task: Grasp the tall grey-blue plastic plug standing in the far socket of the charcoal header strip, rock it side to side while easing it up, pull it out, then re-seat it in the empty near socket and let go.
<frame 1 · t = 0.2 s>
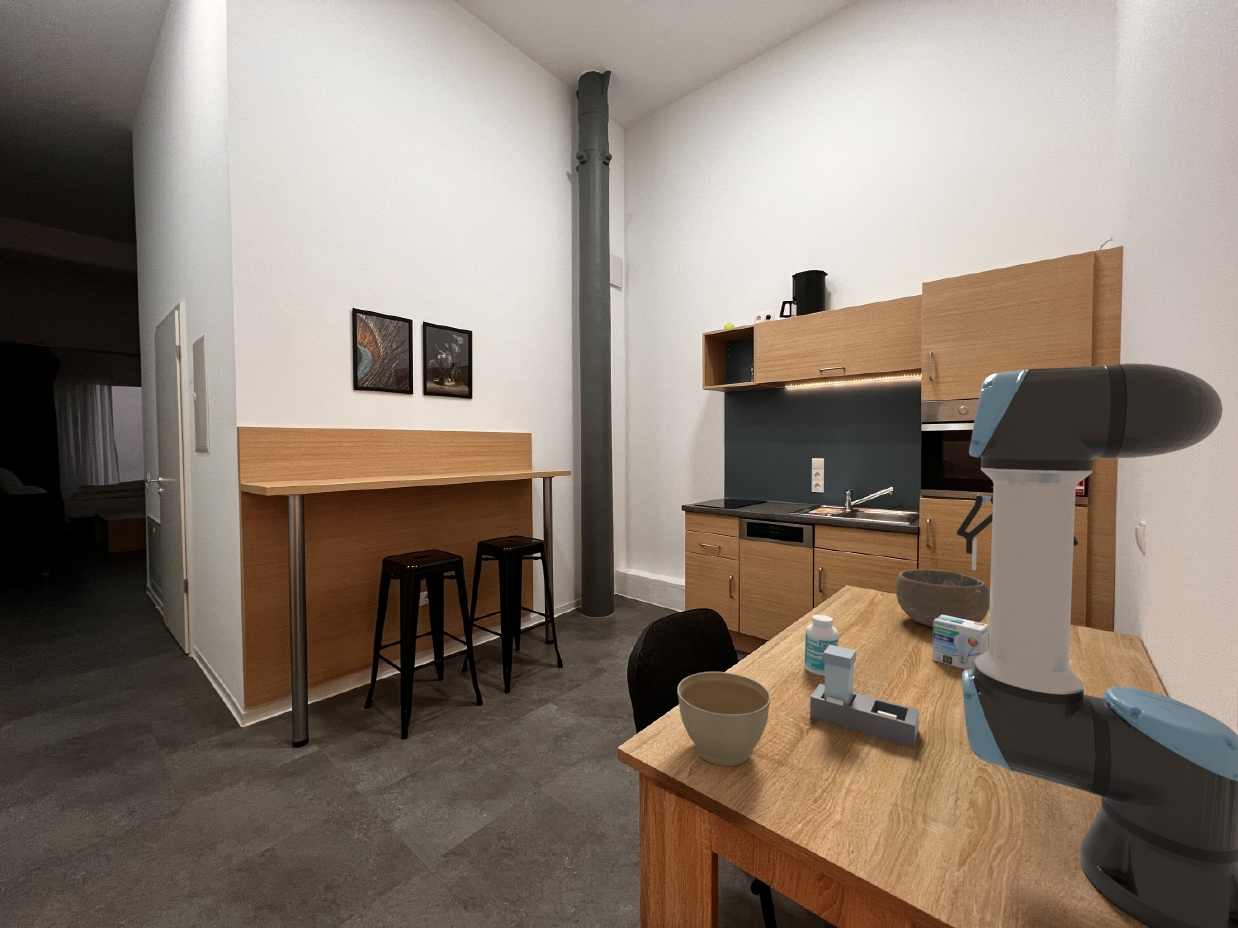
hand: (1012, 573, 110), 28 cm above the table, fingers open, 13 cm apart
pill bottle: (820, 673, 124), on the table
header: (862, 728, 100), on the table
light bulb box: (959, 664, 131), on the table
planter bowl: (722, 751, 92), on the table
plug: (838, 716, 102), point 1 cm above the table, touching header
bowl: (940, 625, 159), on the table
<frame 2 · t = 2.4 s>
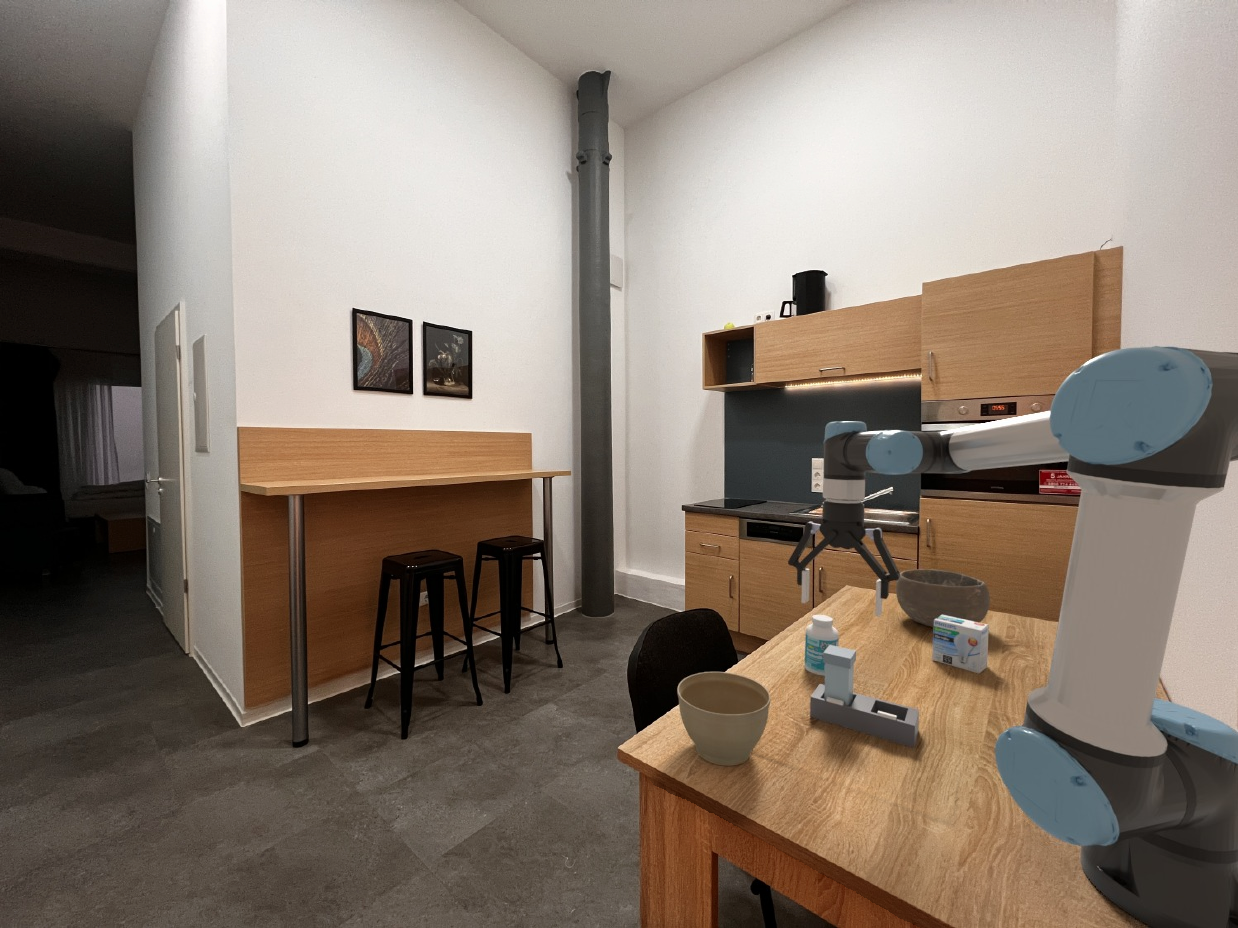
hand: (840, 607, 102), 23 cm above the table, fingers open, 13 cm apart
nothing on the table moved.
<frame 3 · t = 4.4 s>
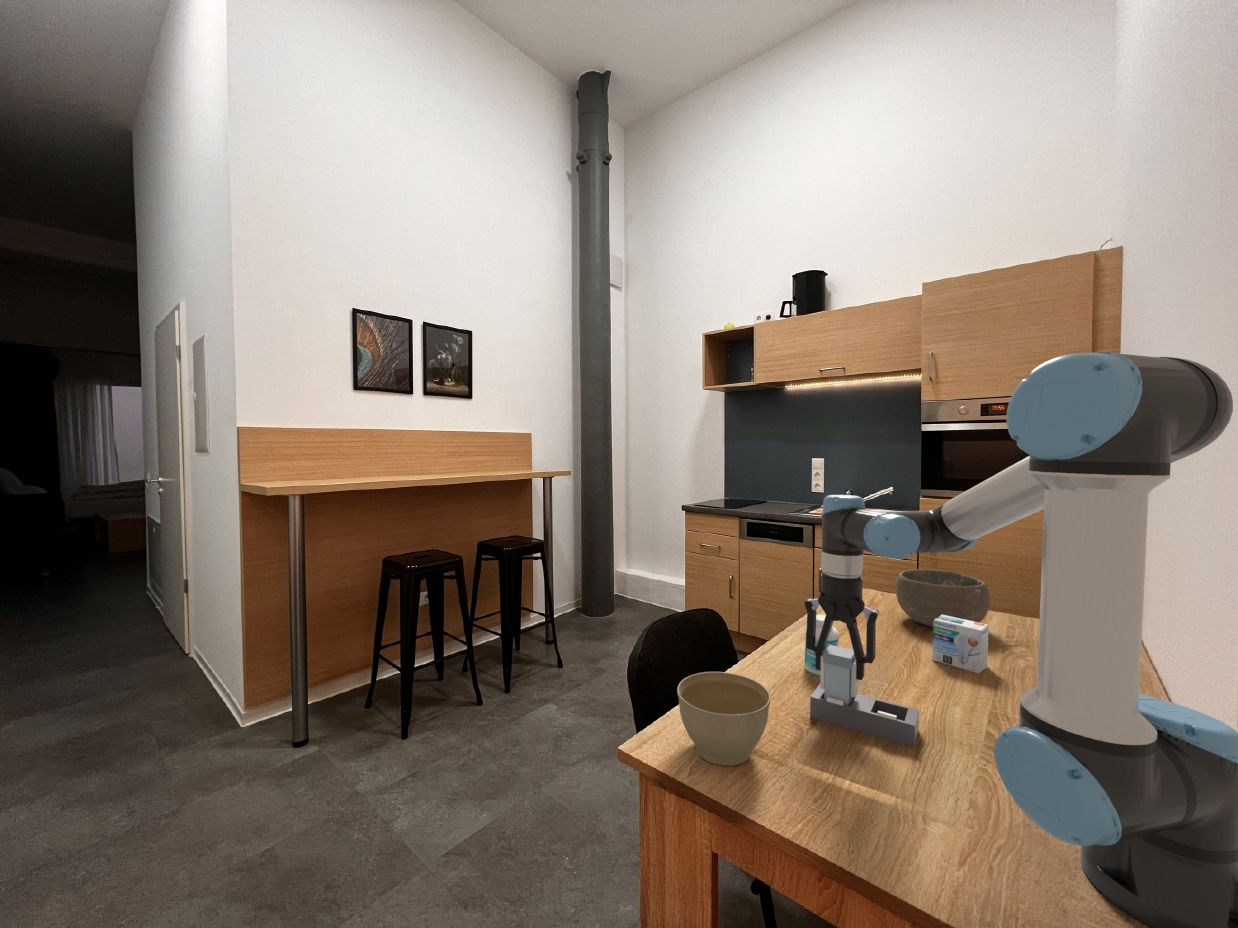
hand: (838, 690, 102), 6 cm above the table, fingers closed on plug, 5 cm apart
plug: (838, 716, 102), point 1 cm above the table, touching gripper, header
everything else where it was.
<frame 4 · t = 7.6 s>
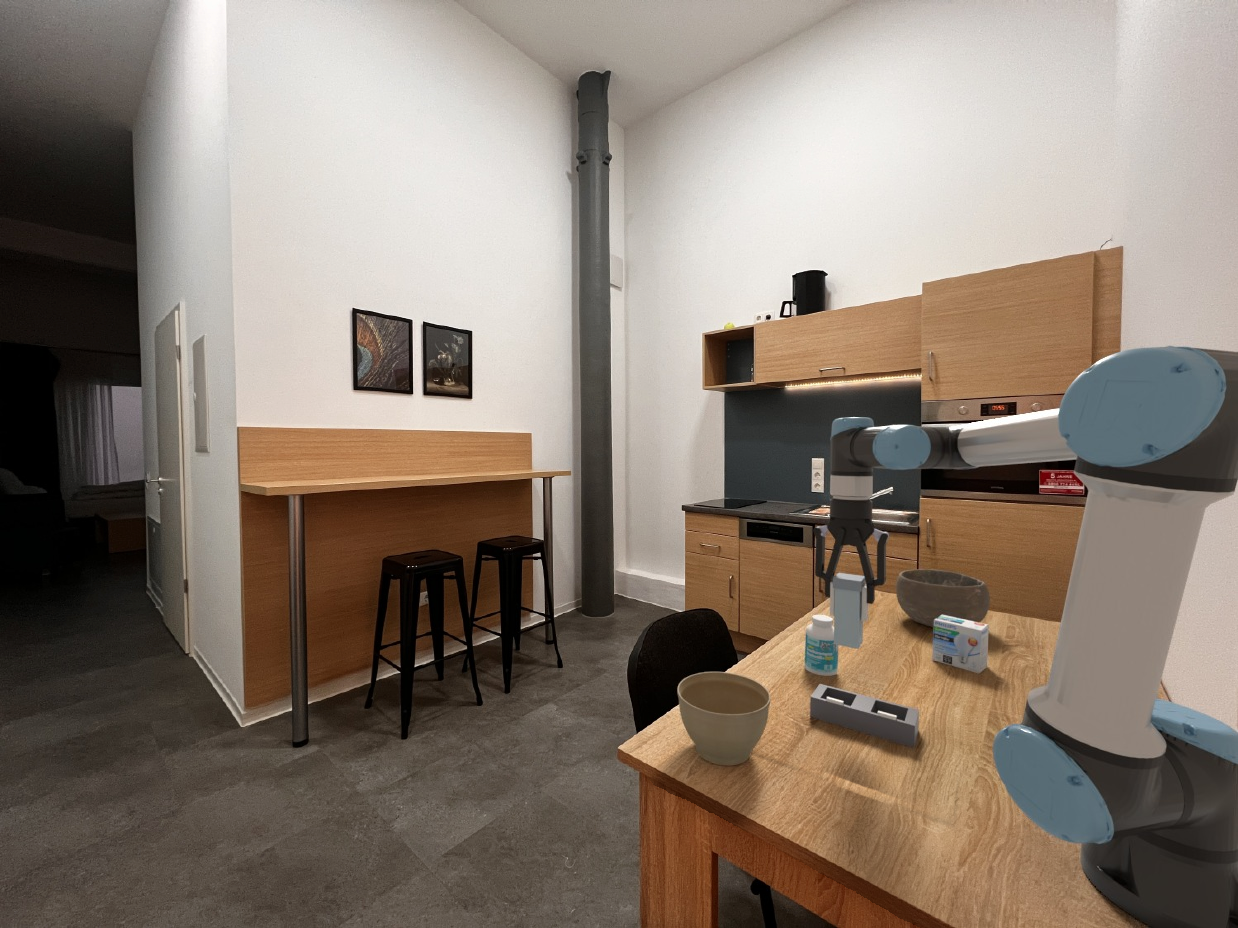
hand: (848, 616, 100), 21 cm above the table, fingers closed on plug, 5 cm apart
plug: (848, 643, 101), point 16 cm above the table, touching gripper
everything else where it was.
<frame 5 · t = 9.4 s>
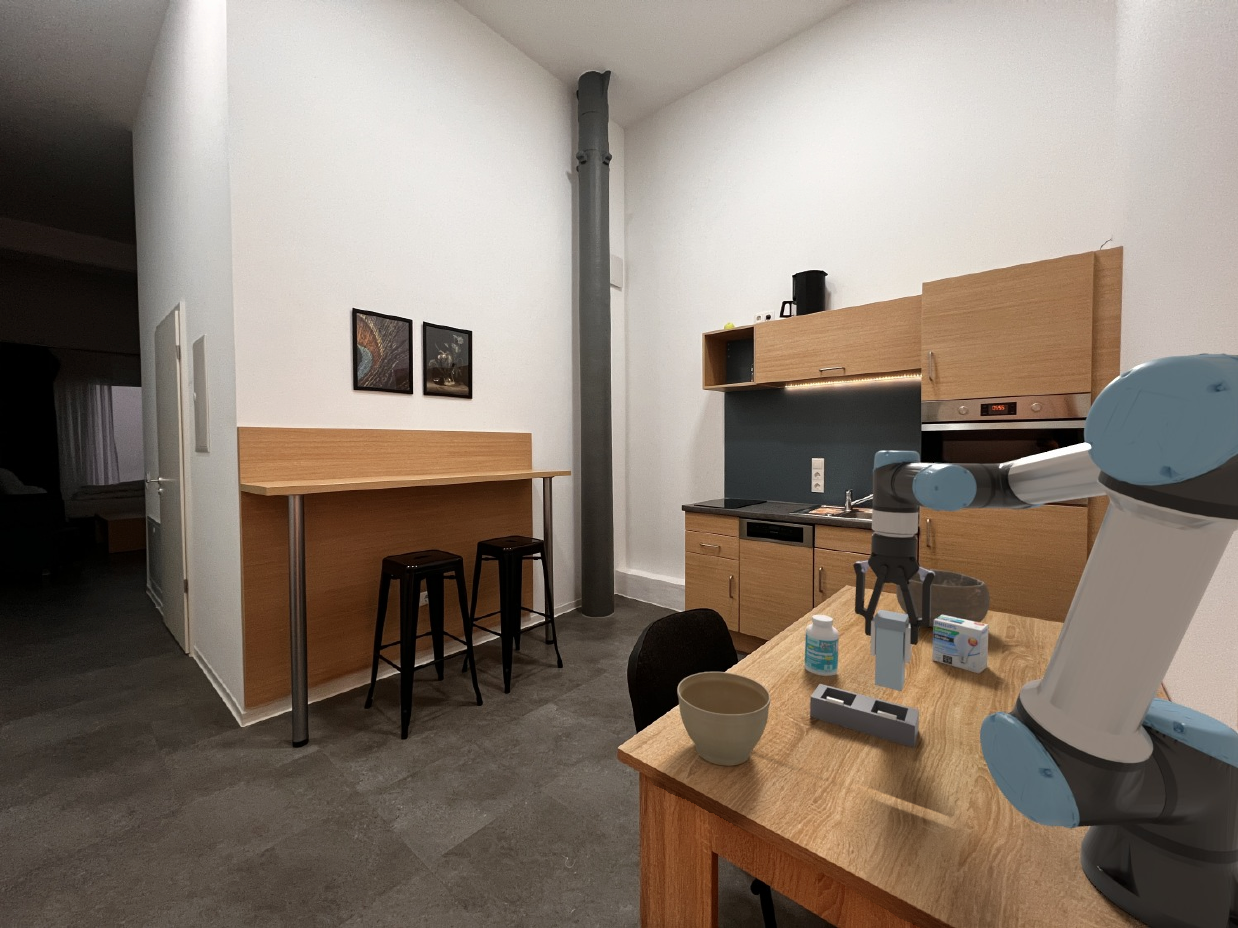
hand: (890, 656, 97), 15 cm above the table, fingers closed on plug, 5 cm apart
plug: (889, 683, 97), point 10 cm above the table, touching gripper
everything else where it was.
when the fingers open (8 cm above the table, at t = 11.0 s): plug drops 1 cm, resting on header.
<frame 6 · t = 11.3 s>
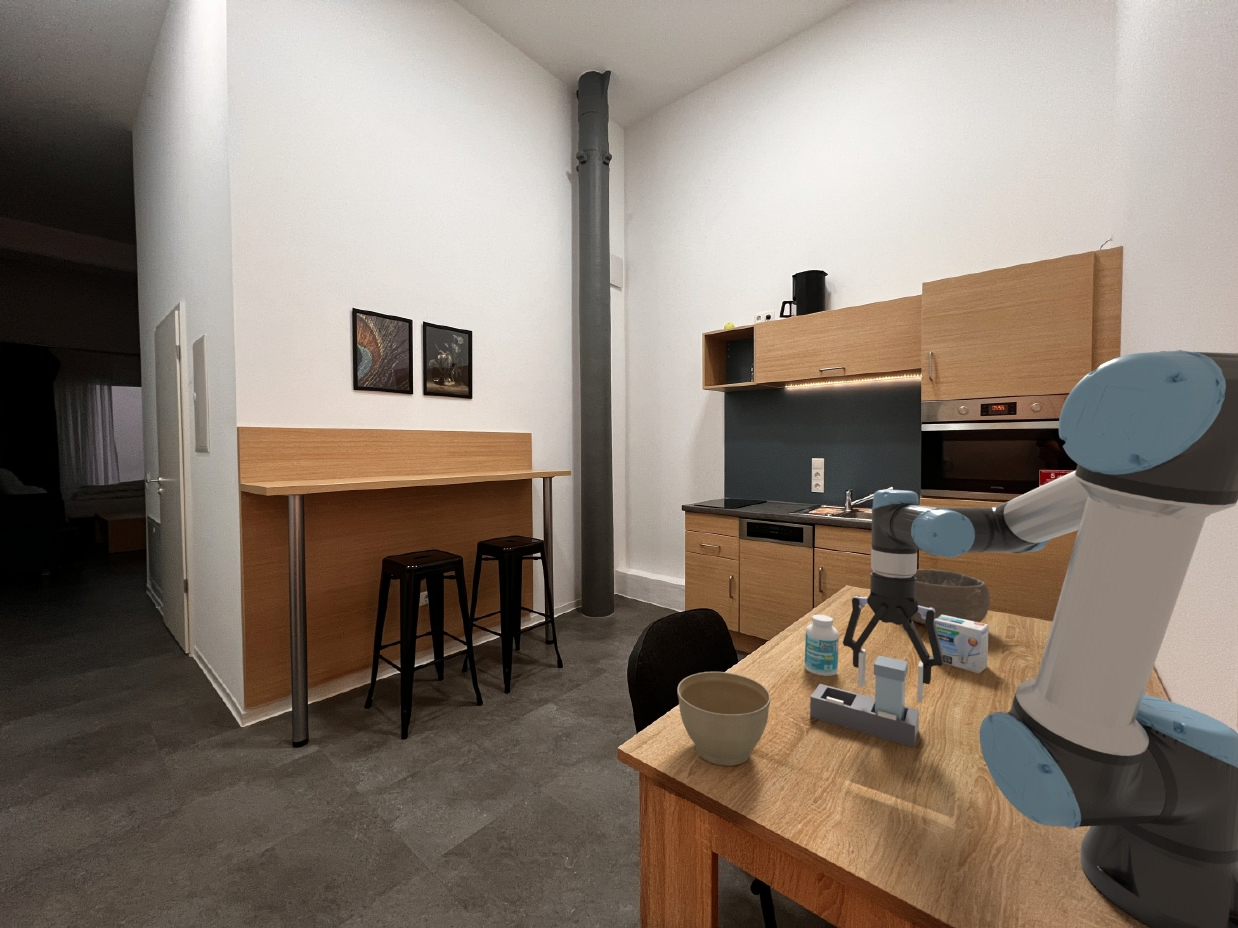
hand: (890, 691, 97), 9 cm above the table, fingers open, 9 cm apart
plug: (889, 730, 97), point 1 cm above the table, touching header
everything else where it was.
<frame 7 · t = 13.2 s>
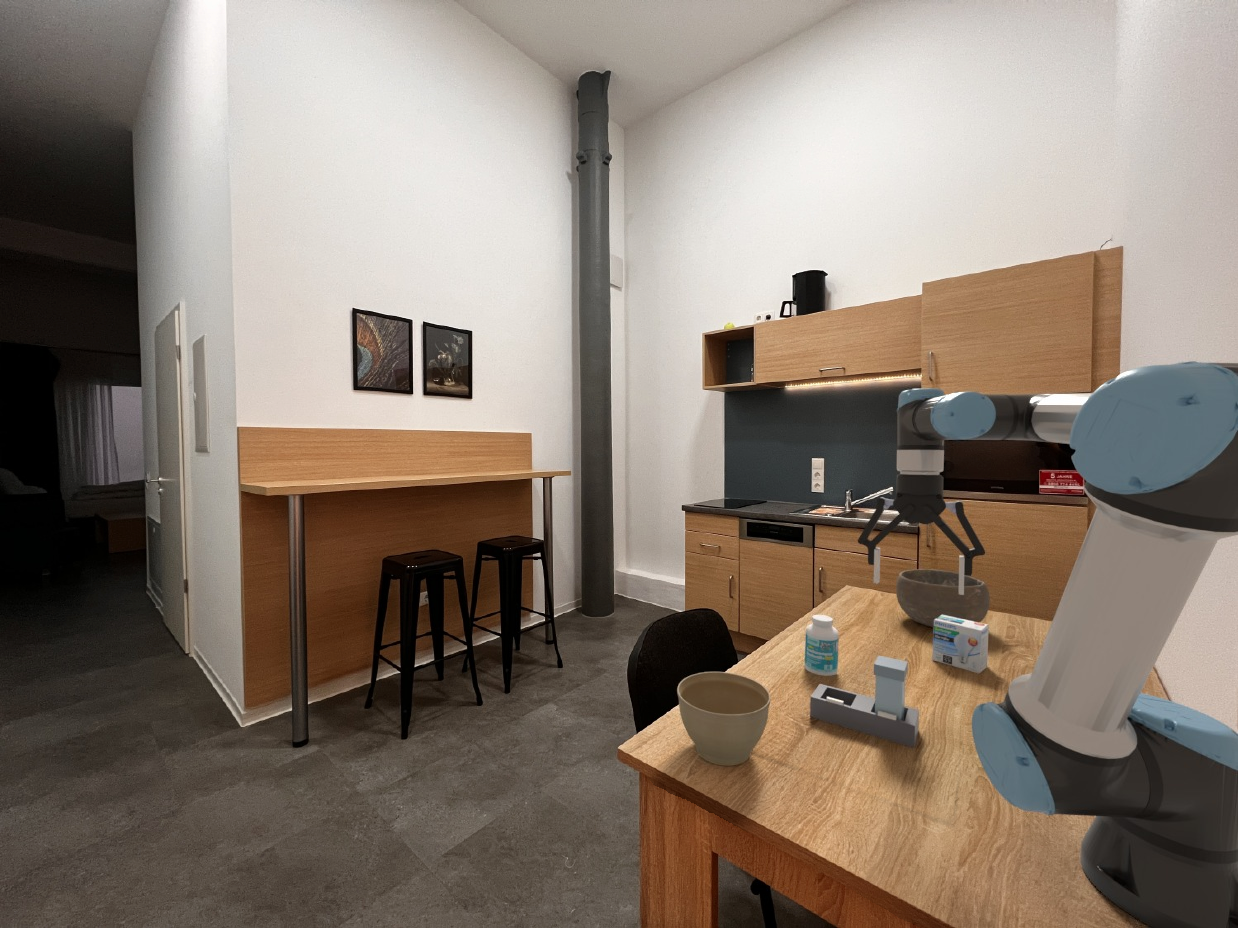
hand: (917, 587, 96), 28 cm above the table, fingers open, 13 cm apart
nothing on the table moved.
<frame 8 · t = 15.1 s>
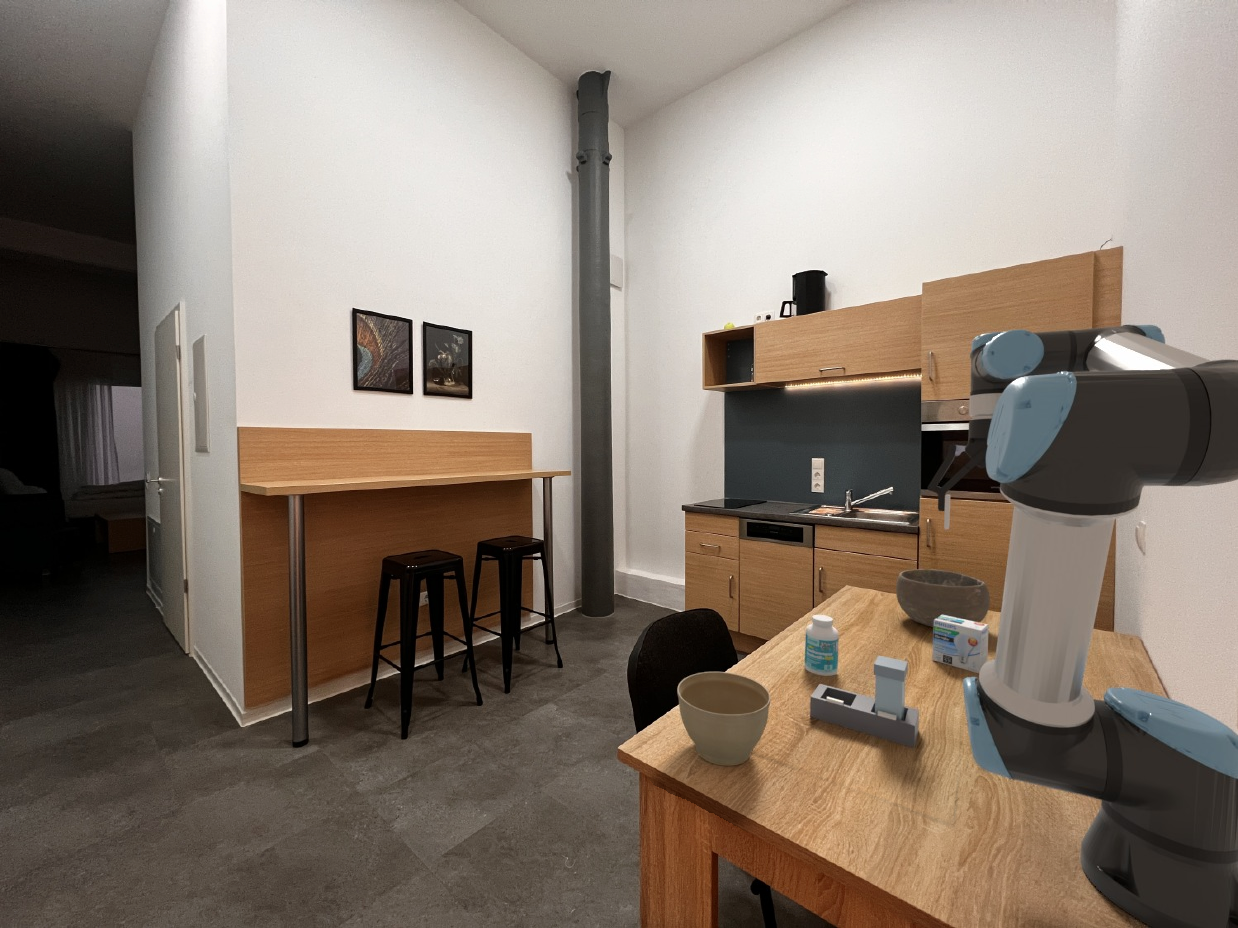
hand: (989, 532, 96), 39 cm above the table, fingers open, 13 cm apart
nothing on the table moved.
at the end: plug 0.0 cm from the target spot on the header, point 1.0 cm above the header's base; plug tilted 0°; the gripper is holding nothing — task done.
